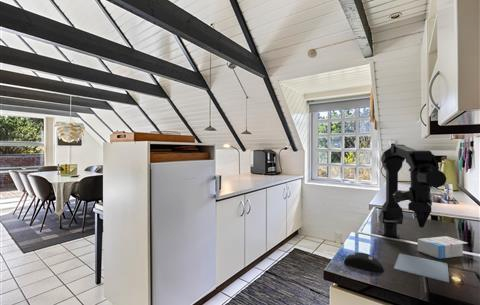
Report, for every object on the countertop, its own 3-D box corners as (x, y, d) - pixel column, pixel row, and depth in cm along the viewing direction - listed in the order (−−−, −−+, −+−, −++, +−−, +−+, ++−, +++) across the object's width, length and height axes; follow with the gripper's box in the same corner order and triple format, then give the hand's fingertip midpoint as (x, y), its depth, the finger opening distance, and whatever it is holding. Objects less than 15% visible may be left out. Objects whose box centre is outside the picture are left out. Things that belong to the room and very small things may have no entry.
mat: (399, 254, 91) (399, 253, 91) (447, 264, 83) (447, 263, 83) (393, 268, 79) (393, 268, 79) (449, 282, 70) (449, 281, 70)
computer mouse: (381, 276, 75) (381, 263, 75) (342, 265, 82) (342, 254, 83) (385, 267, 81) (385, 256, 81) (348, 258, 88) (348, 247, 88)
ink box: (439, 259, 86) (469, 255, 90) (438, 246, 87) (469, 242, 90) (417, 250, 95) (446, 247, 98) (416, 238, 95) (445, 235, 98)
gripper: (397, 181, 99) (398, 218, 98) (390, 185, 84) (391, 228, 84) (431, 183, 91) (432, 223, 91) (430, 187, 77) (432, 235, 77)
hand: (421, 227), depth 86 cm, fingers closed
